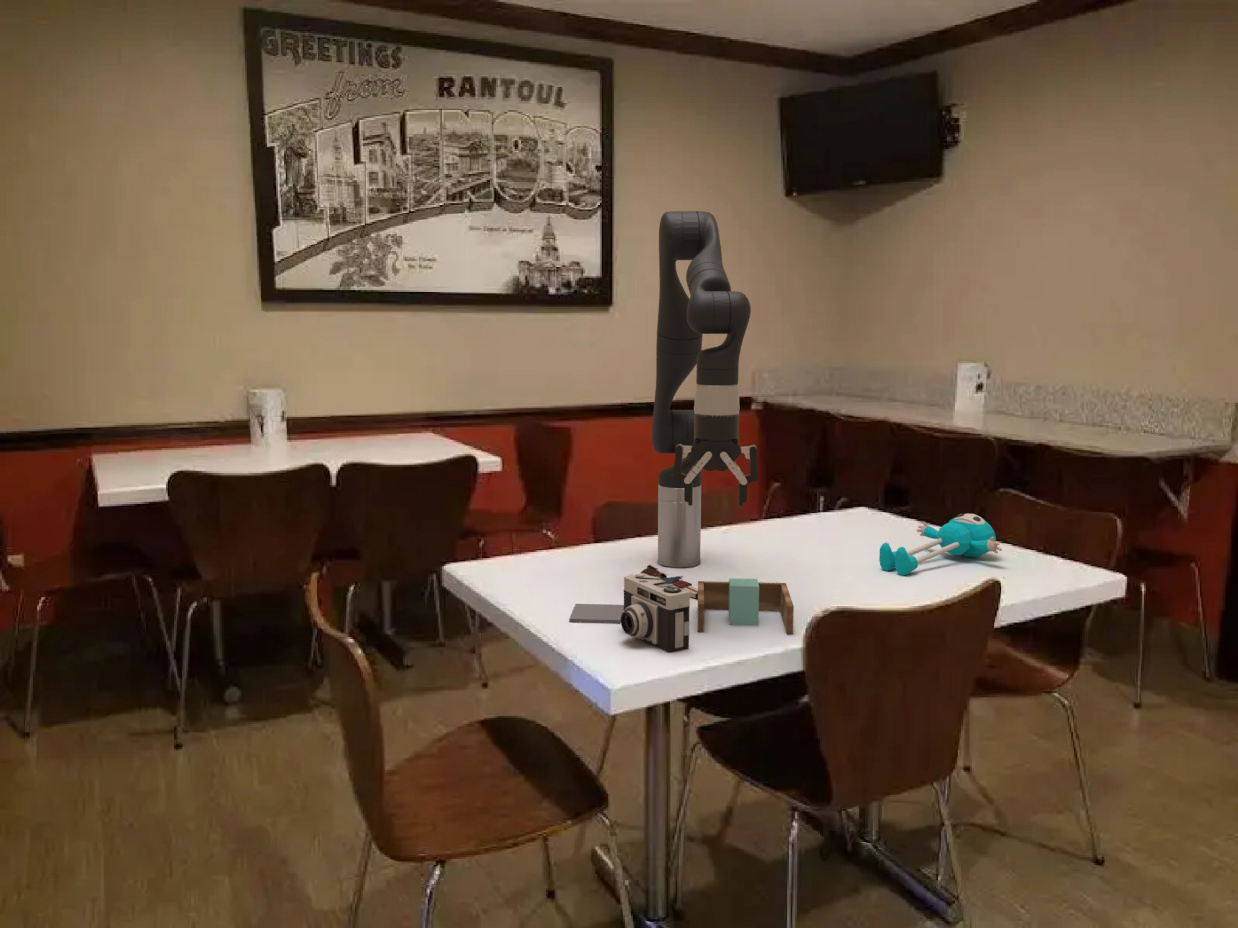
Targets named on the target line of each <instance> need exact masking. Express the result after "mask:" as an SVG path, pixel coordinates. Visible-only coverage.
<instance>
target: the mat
mask: <svg viewBox="0 0 1238 928" xmlns="http://www.w3.org/2000/svg"><path fill="white" fill-rule="evenodd" d="M623 612H624V604H606V603H605V604H603V603H602V604H601V603H575V604H574V607H573V608H572V612H571V614H570V616H569V619H568V620H569V621H568V622H569V623H590V624H592V623H593V624H594V623H595V624H597V623H598V624H621V615H622V613H623Z"/></svg>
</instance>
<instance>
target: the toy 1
mask: <svg viewBox="0 0 1238 928" xmlns="http://www.w3.org/2000/svg"><path fill="white" fill-rule="evenodd" d="M640 573H644V574H647V575H649V576H654V577H658V578H660V579H661V580H664V581H666V582H665V583H667V584H673V585H674V586H676V587H679V588H681V589H684V590H686V591H689V592H690V598H695V599H696V600H697V601H698V588H696V587H694V586H693V584H692V582H691V583H690V582H688V581H686V580H683V578H684V576H683V575H679V576H670V577H668V576H667V575H666V574H665V573H664V572H660V570H659V569H658V567H657V568H656V567H654V566H653V565H651V564H648V565H646V568H644V569H643V570H642V571H640Z"/></svg>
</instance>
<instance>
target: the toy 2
mask: <svg viewBox="0 0 1238 928" xmlns="http://www.w3.org/2000/svg"><path fill="white" fill-rule="evenodd" d="M922 524H923V525H921V524H920V525H918V526H917V528H918V529H916V532H917V533H919V536H920V537H926V538H928V539H932V541H930V542H927V543H925V544H923V545H921V546H918V547H915V548H912V549H910V550H908V551H907V549H906V548H905V547H904V546H900V547H898V548H897V549H896V550H895V551H893V550H892V548H891V546H890V544H889V542H884V543H882V544H881V546H880V547H879V559H878V560H879V561H878V562H879V566H880V568H881V570H882V571H884V572H890V571H892V570H894V569H895V570H896V573H897V574H899V576H903V577H904V576H908V575H909V574H910V573H911V572H913V571H916V570H917V568H918V566H919V565H918V564H921V563H922V562H926V561H927V560H930V559H933V558H935V557H938V556H940V555H942V554H945V553H948V554H950V555H954V556H955V555H956V556H963V557H965V558H979V557H981V556H983V555H985V554H988V553H991V552H993V553H995V554H999V551H1000V552H1002V551H1003V548H1001V547H998V546H1000V542H998V541H996V540H997V537H996V533H995V530H994V529H993V527H992V526H991V525H990V524H989V523H988V522H987V521H986V520H985V519H984V518H982V517H981V516H979V515H977V514H975V513H960V514H959V513H958V515H957V516H956V517H953V518H952V519H950V520H949V521H948V523H945V524H943V525H942V526H940V527H939V529H938V530H937V529H936V528H933V527H932V526H930V525H928V524H927V523H926V522H925V521H923V522H922ZM933 539H934V540H933ZM938 545H939V546H940V548H937V549H936V550H934V551H931V552H929V553H927V554H924V555H922V556H920V557H917V558H916V557H915V556H914V555H916V554H919V553H921V552H923V551H926V550H928V549H931V548H932V547H935V546H938Z"/></svg>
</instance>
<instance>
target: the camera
mask: <svg viewBox="0 0 1238 928" xmlns="http://www.w3.org/2000/svg"><path fill="white" fill-rule="evenodd" d="M665 582H666V581H664V580H661V579H660V578H658V577H654V576H649V575H647V574H644V573H641V572H640V573H635V574H629V575H624V576H623V605H624V611H623V613H622V615H621V623H620V625H621V629H622V630H623V632H624V633H625V634H626V635H629V637H631V638H633V639H635V638H636V639H639V640H643V641H645V642H647V643H648V644H650V645H653V646H654V647H656V648H658V649H660V650H662V651H664V652H666V653H668V654H669V653H675V652H680V651H684V650H685V651H686V650H689V646H690V643H689V641H690V607H691V597H690V592H689V591H686V590H684V589H681V588H679V587H676V586H674V585H673V584H667V583H665Z"/></svg>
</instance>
